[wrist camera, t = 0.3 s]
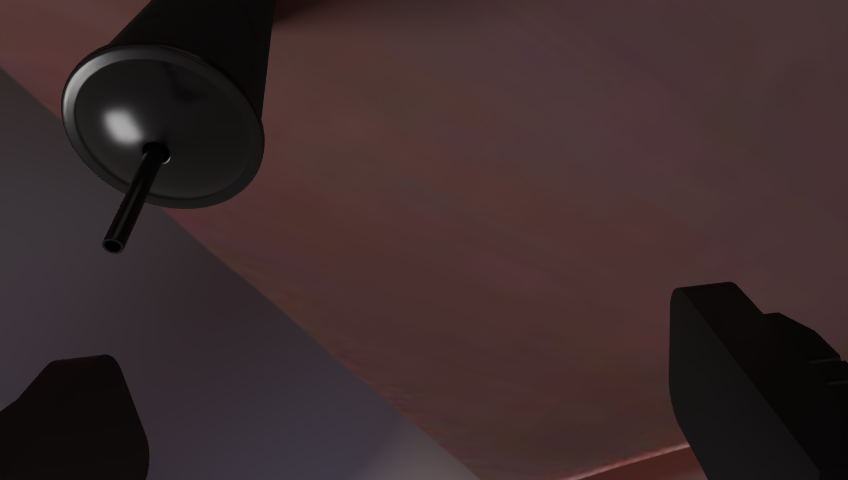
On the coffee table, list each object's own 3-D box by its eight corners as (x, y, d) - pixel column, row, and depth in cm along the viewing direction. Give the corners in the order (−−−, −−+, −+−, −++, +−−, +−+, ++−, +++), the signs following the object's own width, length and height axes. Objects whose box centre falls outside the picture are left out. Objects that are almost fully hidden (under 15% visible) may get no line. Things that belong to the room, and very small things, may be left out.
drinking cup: (223, 79, 40) (118, 348, 25) (125, -33, 35) (-73, 215, 21) (329, 17, 37) (281, 274, 23) (238, -113, 33) (104, 105, 18)
